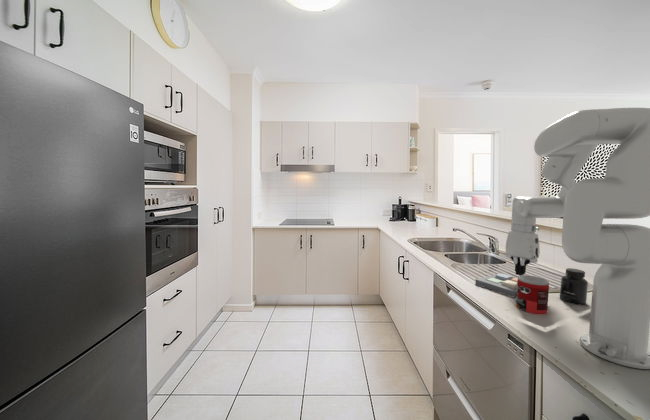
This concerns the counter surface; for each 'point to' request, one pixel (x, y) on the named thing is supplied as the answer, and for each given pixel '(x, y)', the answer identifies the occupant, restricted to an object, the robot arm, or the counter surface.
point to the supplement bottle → (574, 287)
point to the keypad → (496, 286)
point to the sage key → (494, 280)
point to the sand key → (510, 284)
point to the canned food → (532, 294)
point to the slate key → (503, 277)
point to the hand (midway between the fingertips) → (519, 274)
